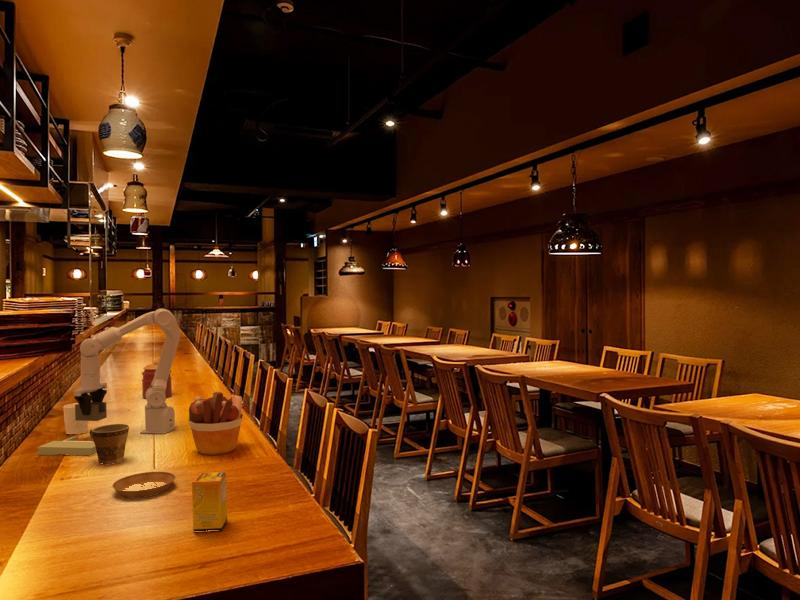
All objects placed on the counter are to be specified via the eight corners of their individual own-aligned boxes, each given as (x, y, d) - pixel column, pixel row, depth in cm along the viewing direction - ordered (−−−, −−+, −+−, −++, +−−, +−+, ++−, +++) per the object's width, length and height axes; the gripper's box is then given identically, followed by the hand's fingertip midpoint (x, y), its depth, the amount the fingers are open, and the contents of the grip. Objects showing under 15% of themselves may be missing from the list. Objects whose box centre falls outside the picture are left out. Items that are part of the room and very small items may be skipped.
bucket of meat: (188, 445, 184) (186, 385, 183) (240, 439, 190) (239, 380, 190) (191, 463, 166) (189, 395, 165) (248, 456, 172) (247, 391, 171)
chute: (106, 417, 196) (106, 402, 196) (97, 421, 191) (97, 405, 191) (85, 417, 197) (85, 401, 197) (75, 420, 192) (75, 404, 192)
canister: (165, 399, 260) (164, 361, 260) (137, 400, 261) (136, 361, 260) (176, 394, 273) (175, 357, 273) (150, 394, 274) (148, 358, 273)
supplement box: (200, 521, 124) (198, 472, 124) (227, 520, 125) (226, 471, 125) (192, 533, 118) (191, 481, 118) (221, 532, 119) (220, 480, 119)
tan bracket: (117, 444, 187) (117, 436, 187) (91, 456, 174) (91, 447, 174) (67, 443, 189) (66, 435, 189) (37, 454, 176) (37, 446, 176)
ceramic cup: (137, 457, 172) (136, 425, 172) (110, 468, 162) (109, 433, 162) (104, 454, 176) (103, 422, 176) (76, 463, 167) (75, 430, 166)
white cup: (78, 436, 198) (77, 407, 198) (58, 435, 200) (57, 407, 199) (94, 430, 206) (93, 403, 206) (75, 429, 207) (74, 402, 207)
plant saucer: (131, 480, 152) (130, 471, 152) (185, 480, 152) (184, 470, 152) (100, 501, 138) (100, 491, 137) (160, 501, 137) (159, 490, 137)
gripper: (93, 370, 201) (94, 408, 202) (64, 377, 187) (65, 417, 187) (111, 370, 200) (113, 408, 201) (84, 377, 186) (85, 418, 186)
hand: (91, 413), depth 194 cm, fingers closed on chute, 5 cm apart
